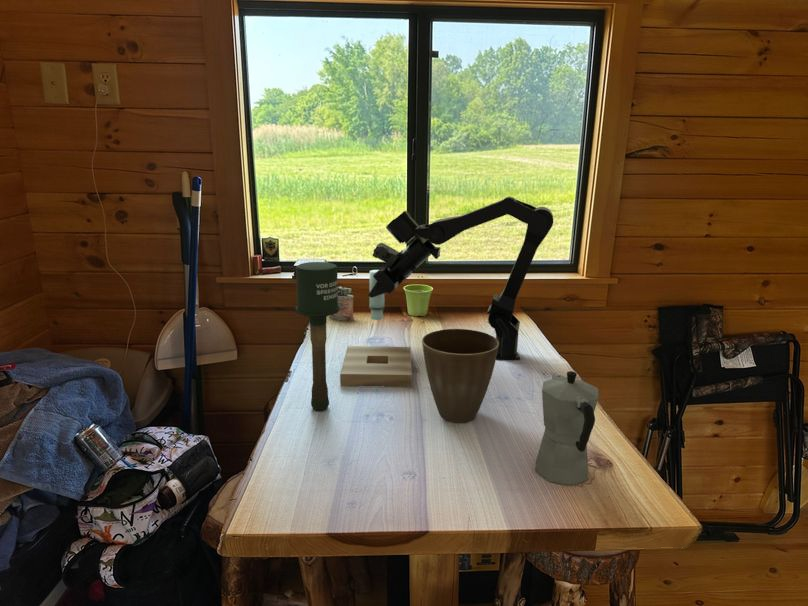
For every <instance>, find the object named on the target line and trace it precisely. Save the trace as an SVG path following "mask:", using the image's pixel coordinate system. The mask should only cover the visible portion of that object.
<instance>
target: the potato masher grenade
mask: <svg viewBox="0 0 808 606" xmlns="http://www.w3.org/2000/svg"><path fill="white" fill-rule="evenodd" d="M295 270H296V272H295V273H296V297H297V298H296V303H297V306H295V313H297V314H298V315H301V316H304V317H308V318H309V332H310V334H309V335H310V336H309V337H310V342H311V359H312V361H311V362H312V363H311V365H312V385H311V399H310V406H311V408H312V410H313V411H317V412H323V411H326V410H327V409H328V408H329V405H330V398H329V387H328V385H327V367H326V366H327V365H326V364H327V361H326V360H327V358H326V357H327V356H326V355H327V353H326V352H327V351H326V343H327V320H328V319H327V317H329V315H333V314H336V313H338V312H339V311H340V307H339V305H338V287H339V285H338V283H339V282H338V266H337V265H336V264H334V263H333V262H326V261H307V262H304V263H300V264H298V265H296V267H295Z"/></svg>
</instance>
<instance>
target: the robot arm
mask: <svg viewBox="0 0 808 606" xmlns="http://www.w3.org/2000/svg"><path fill="white" fill-rule="evenodd" d="M506 215H509V216H510V217H513V218H515V219H516V220H517V221H520V222H522V223H524V224H526V225H527V226H526V232H525V234H524V235H525V237H524V241H523V243H522V246H521V248H520V251H519V253H518V255H517V258H516V260H515V262H514V264H513V267H512V269H511V272H510V273H509V277H508V279H507V281H506V283H505V287H504V288H503V291H501V293H500V295H499V294H497V293H494V295H493V298H492V301H491V304H490V305H489V306H488V309H487V313H486V314H487V315H488V318H487V322H488V323H489V325H490V327H491V328H493V329H494V331H495V338H496V339H497V340H498V342H499V346H498V351H497V356H496V360H520V359H521V356H520V354H519V352H518V345H519V344H518V343H519V331H520V323H521V322H520V320H519V319H518V318H517V317H516V316H515V315H514V309H515V304H516V301H517V300H516V299H517V297H518V295H519V292H520V289H521V287H522V286H523V283H524V281H525V278H526V276H527V273H528V271H529V269H530V267H531V265H532V262H533V259H534V257H535V255H536V253H537V250H538V248H539V247H540V245H541V244H542V242H543V241H544V240H545V238H546V237H547V236H548V234H549V232H550V231H551V229H552V228H553V225H554V214H553V212H552V210H550V209H549V208H548V207H545V206H538V207H536V206H533V205H531V204H529V203H526V202H523V201H522V200H521V201H520V200H518V199H516V198H515V197H514V196H506V197H504V198H503V199H501V200H499V201H496V202H493V203H491V204H488V205H485V206H483V207H480V208H478V209H475V210H473V211H470V212H469V211H468V213H464V214H461V215H458V216H451V217H445V218H440V219H437V220H434V221H433V222H432V223H429V224H420V225H419V223H417V222H416V221H415V220H414V218H413V217H412V216H411V214H410V213H409V212H408V211H407V210H404V211H402V212H401V214H399V215H398V216H397V217H395V218H393V219H392V220H391V221H390V222H389V223H388V224H387V225H386V226H385V229H386V230H387V231H388V232H389V234H391V235H392V236H393V238H394V239H395V240H396V241H397V242H398V243H399V244H405V245H406V244H408V243H409V242H411V240H412V242H411V243H409V245H407V247H405V248H404V249H402V250H401V251H397V250H396V249H394V247H391V246H390V245H387V244H386V243H383V242H380V243H379V242H378V244H377V245H376V247H375V248H374V249H373V252H372V257H374V259H377V260H378V259H379V260H380V261H382V262H384V263H386V264H385V267H383V268H380V269H378V270H379V271H377V272H376V273H375V274H374V275H373V277H374V278H375V279H376V280H377V282H376V284H375V285H374V287H373V289H372V290H371V292H370V291H369V293H368V296H369V299H370V298H372V297H375V296H378V295H381V294H384V295H385V294H392V292H394V290H395V289H396V288H398V287H399V285H401V284H402V283H403V281H406V279H408V278H409V277H410V276H411V275H412V273H413V272H414V271H415V270H416V269H417V268H418V267H420V266H421V264H423V263H424V262H425V261H426V260H427V259H429V257H431V256H432V257H433V258H434V259H435V260H438V259H439V258H440V257H441V252H440V251H441V247H440V246H439V245H442V244H444V243H446V242H448V241H449V240H451V239H453V238H455V237H456V236H458V235H460V234H461V233H462V232H464V231H466V230H469V229H472V228H474V227H478V226H479V225H483V224H486V223H487V222H490V221H493V220H496V219H498V218H501V217H504V216H506ZM413 239H414V240H413Z"/></svg>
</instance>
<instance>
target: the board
mask: <svg viewBox="0 0 808 606" xmlns="http://www.w3.org/2000/svg"><path fill="white" fill-rule="evenodd" d="M411 352H412V349H411V346H378V345H377V346H369V345H366V346H364V345H362V346H361V345H353V346H352V345H347V346H346V350H345V355H344V357H343V362H342V365H341V369H340V373H339V384H340V385H339V387H358V386H379V387H378V388H381V387H380V386H384V387H383V388H412V381H413V380H412V379H413V376H412V375H413V374H412V373H413V372H412V353H411Z"/></svg>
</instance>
